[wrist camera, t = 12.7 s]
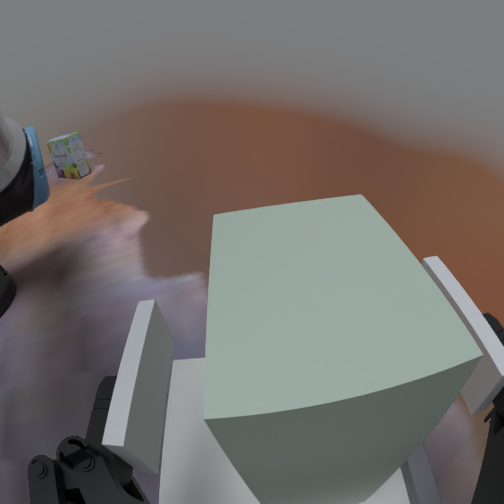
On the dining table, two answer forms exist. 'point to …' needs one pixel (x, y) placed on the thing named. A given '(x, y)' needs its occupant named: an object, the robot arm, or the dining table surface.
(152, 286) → the dining table surface
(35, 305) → the dining table surface
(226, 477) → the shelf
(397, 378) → the carton
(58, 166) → the snack box
